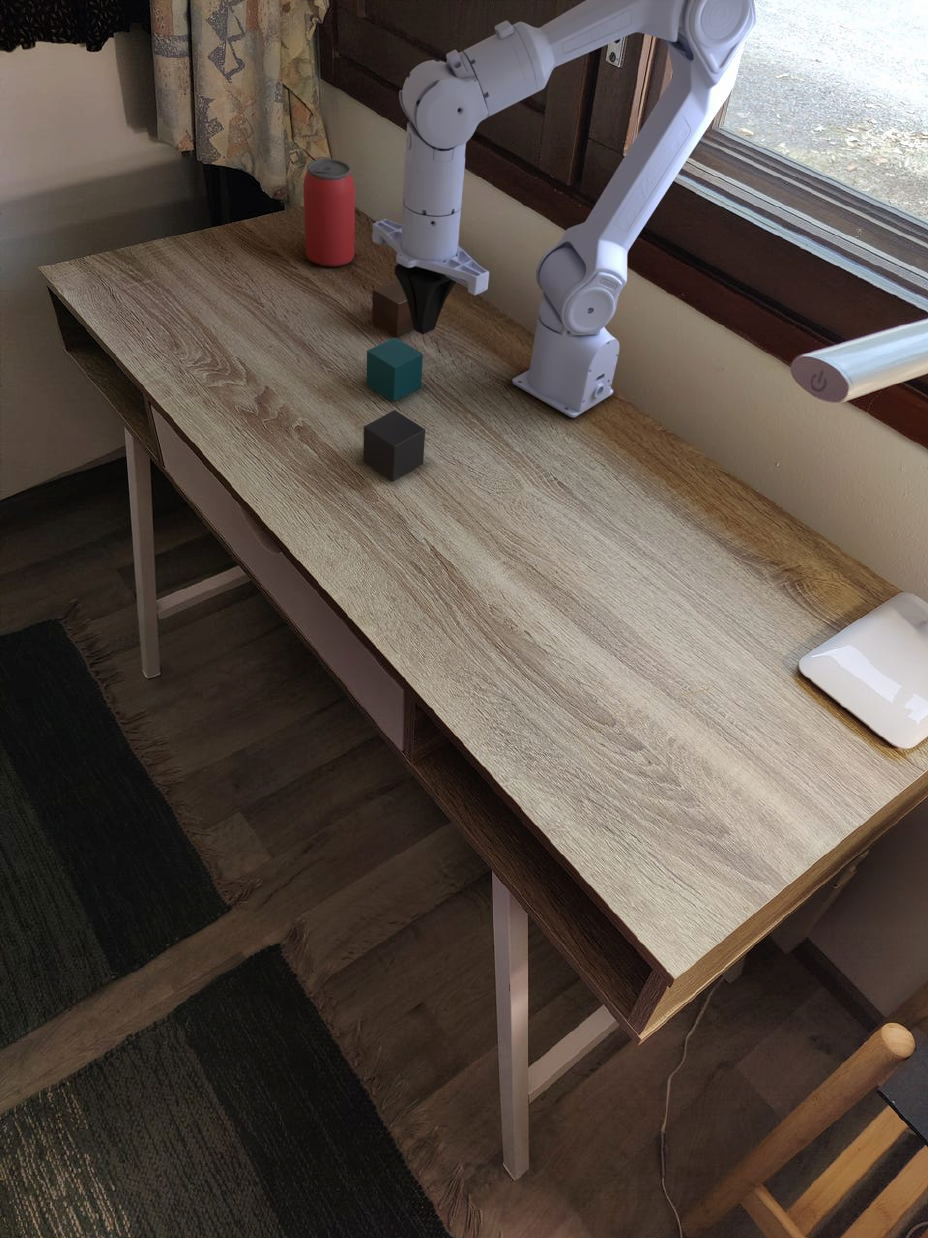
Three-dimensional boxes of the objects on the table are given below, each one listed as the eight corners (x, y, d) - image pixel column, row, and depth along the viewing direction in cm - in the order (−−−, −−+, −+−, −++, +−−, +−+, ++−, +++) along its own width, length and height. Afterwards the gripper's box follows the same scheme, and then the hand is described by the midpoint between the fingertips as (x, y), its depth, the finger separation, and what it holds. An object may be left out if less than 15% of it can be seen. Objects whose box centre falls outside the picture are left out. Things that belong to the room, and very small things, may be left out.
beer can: (296, 252, 130) (293, 161, 121) (338, 242, 133) (337, 153, 124) (321, 273, 127) (319, 181, 118) (363, 262, 130) (365, 172, 121)
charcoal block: (423, 464, 101) (425, 429, 98) (392, 482, 99) (394, 446, 95) (393, 444, 103) (394, 409, 100) (362, 461, 100) (363, 426, 97)
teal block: (421, 387, 111) (423, 353, 107) (393, 402, 108) (395, 367, 105) (393, 371, 113) (395, 336, 109) (366, 384, 110) (366, 350, 107)
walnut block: (422, 325, 120) (424, 292, 117) (396, 337, 118) (398, 303, 114) (397, 311, 122) (398, 277, 119) (371, 322, 120) (372, 289, 116)
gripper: (350, 187, 94) (350, 313, 104) (459, 242, 88) (448, 370, 98) (401, 170, 98) (396, 293, 108) (508, 221, 92) (493, 346, 102)
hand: (424, 328), depth 103 cm, fingers closed
